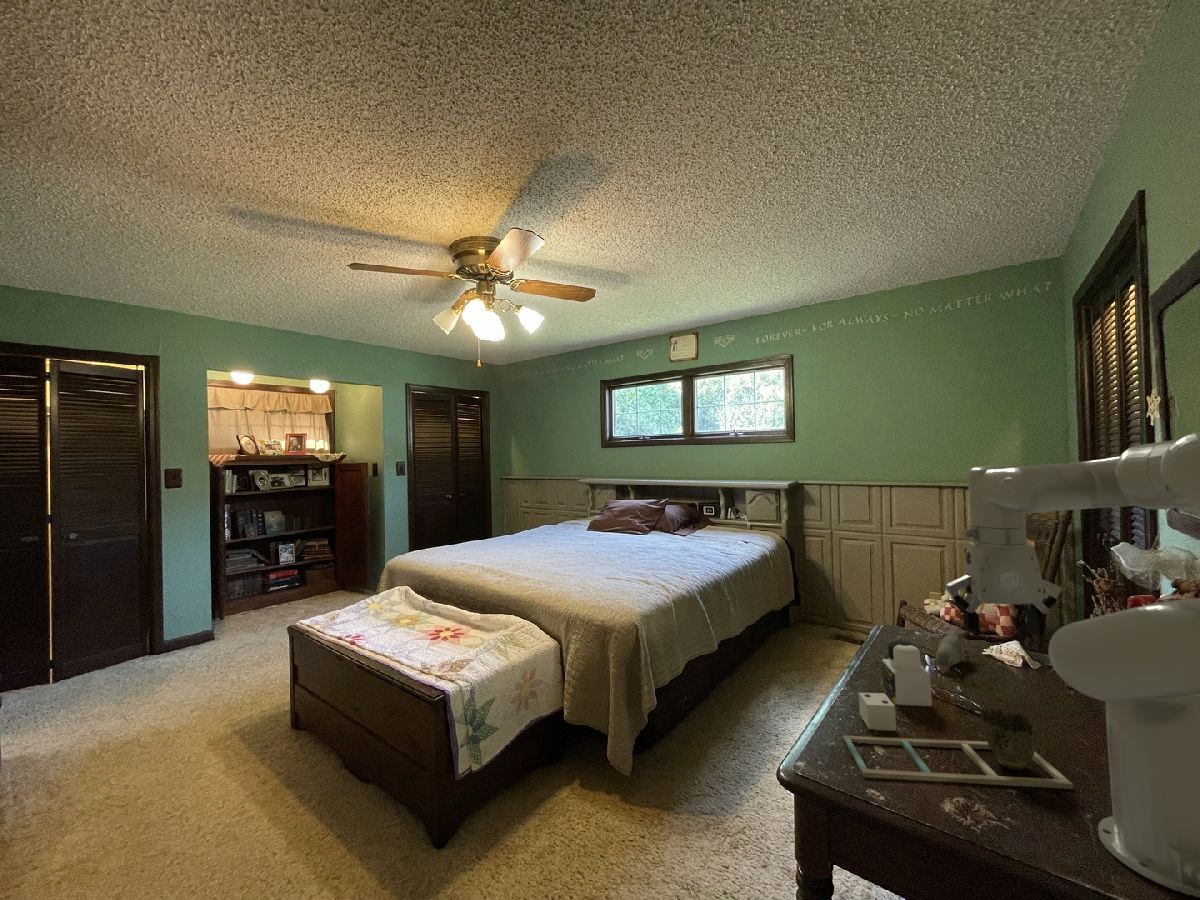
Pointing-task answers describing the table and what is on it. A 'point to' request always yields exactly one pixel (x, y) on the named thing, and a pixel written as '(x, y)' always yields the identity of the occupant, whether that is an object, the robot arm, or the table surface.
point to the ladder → (927, 775)
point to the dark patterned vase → (1010, 737)
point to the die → (877, 711)
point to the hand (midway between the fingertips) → (1004, 633)
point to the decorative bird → (950, 649)
